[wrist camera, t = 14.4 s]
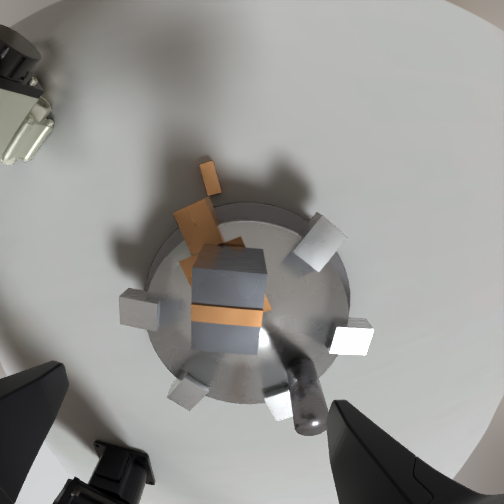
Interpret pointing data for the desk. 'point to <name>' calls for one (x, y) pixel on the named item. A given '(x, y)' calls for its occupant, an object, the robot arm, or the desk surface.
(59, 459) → the desk surface
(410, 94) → the desk surface
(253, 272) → the banded grey cube
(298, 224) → the plinth
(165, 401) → the desk surface
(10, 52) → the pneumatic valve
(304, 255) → the sprocket
